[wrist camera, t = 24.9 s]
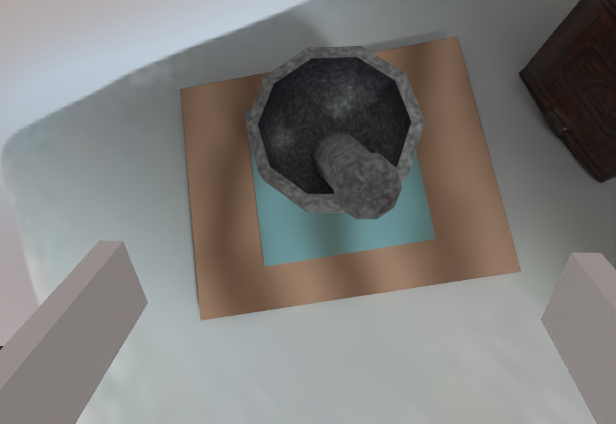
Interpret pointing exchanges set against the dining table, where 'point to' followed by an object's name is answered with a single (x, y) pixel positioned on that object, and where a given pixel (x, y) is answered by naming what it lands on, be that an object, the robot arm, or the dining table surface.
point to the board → (341, 226)
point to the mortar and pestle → (336, 131)
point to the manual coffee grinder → (580, 84)
